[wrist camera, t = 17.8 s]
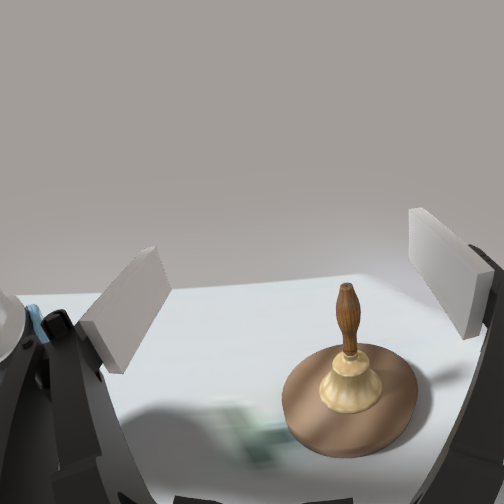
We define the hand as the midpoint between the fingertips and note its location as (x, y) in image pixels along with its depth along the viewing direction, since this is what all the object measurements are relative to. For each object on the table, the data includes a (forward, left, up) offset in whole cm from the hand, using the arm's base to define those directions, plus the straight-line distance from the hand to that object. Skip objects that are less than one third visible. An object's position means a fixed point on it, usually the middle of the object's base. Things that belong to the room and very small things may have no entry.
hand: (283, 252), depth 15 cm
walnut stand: (-3, +13, -29) cm, 32 cm away
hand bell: (-2, +13, -26) cm, 29 cm away
